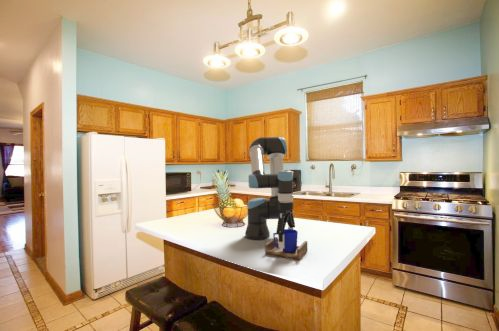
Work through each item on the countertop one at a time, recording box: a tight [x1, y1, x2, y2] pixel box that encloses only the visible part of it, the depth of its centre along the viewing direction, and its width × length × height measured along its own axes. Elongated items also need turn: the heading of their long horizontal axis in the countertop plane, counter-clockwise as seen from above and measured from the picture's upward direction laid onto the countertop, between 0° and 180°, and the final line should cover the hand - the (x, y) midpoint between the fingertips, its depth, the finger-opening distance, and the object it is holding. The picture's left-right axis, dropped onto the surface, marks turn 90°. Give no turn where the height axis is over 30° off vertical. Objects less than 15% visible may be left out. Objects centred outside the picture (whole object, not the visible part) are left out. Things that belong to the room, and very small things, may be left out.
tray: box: [264, 236, 308, 261], centre depth 125 cm, size 17×13×5 cm
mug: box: [272, 228, 298, 253], centre depth 124 cm, size 8×12×10 cm
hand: (286, 243), depth 125 cm, fingers open, 13 cm apart
